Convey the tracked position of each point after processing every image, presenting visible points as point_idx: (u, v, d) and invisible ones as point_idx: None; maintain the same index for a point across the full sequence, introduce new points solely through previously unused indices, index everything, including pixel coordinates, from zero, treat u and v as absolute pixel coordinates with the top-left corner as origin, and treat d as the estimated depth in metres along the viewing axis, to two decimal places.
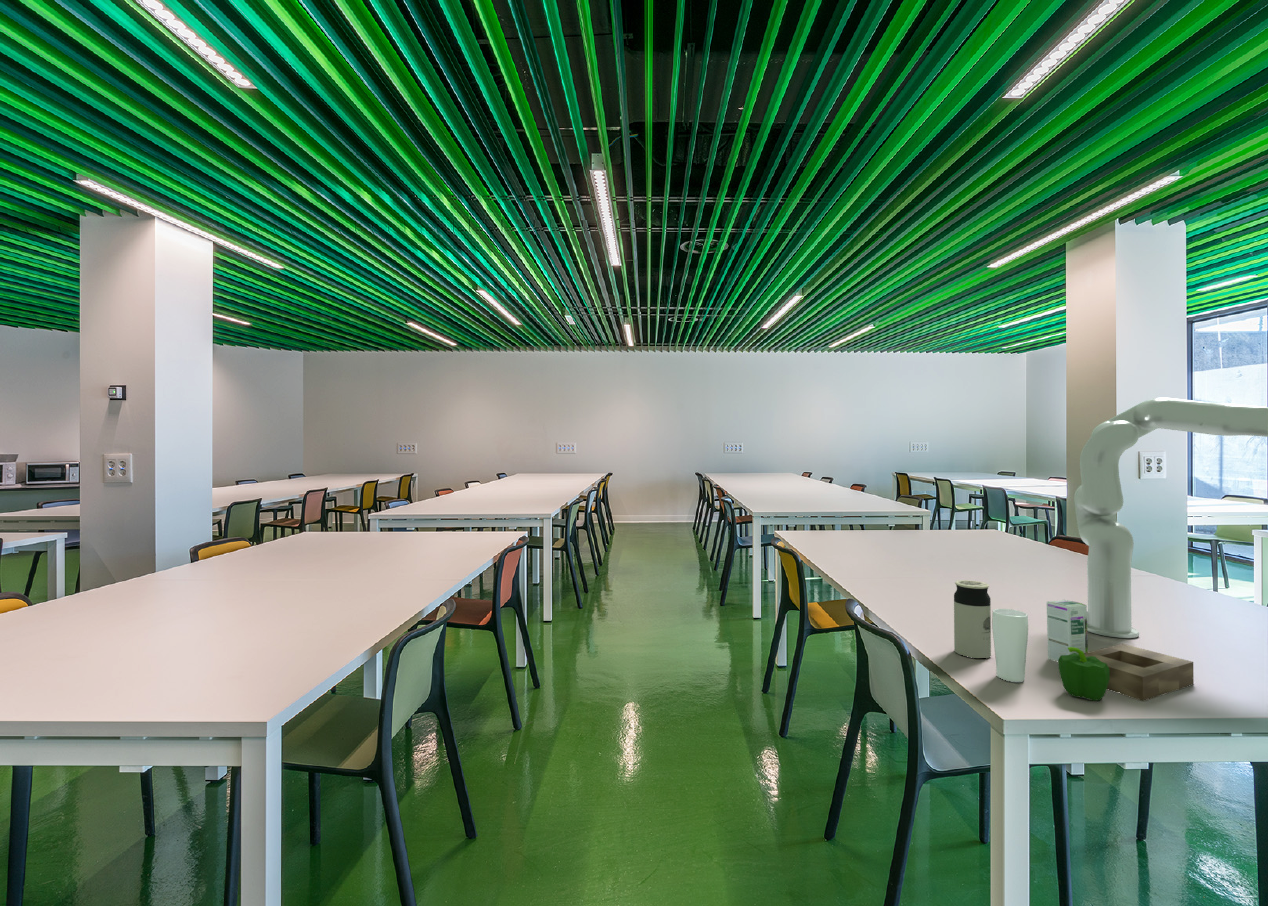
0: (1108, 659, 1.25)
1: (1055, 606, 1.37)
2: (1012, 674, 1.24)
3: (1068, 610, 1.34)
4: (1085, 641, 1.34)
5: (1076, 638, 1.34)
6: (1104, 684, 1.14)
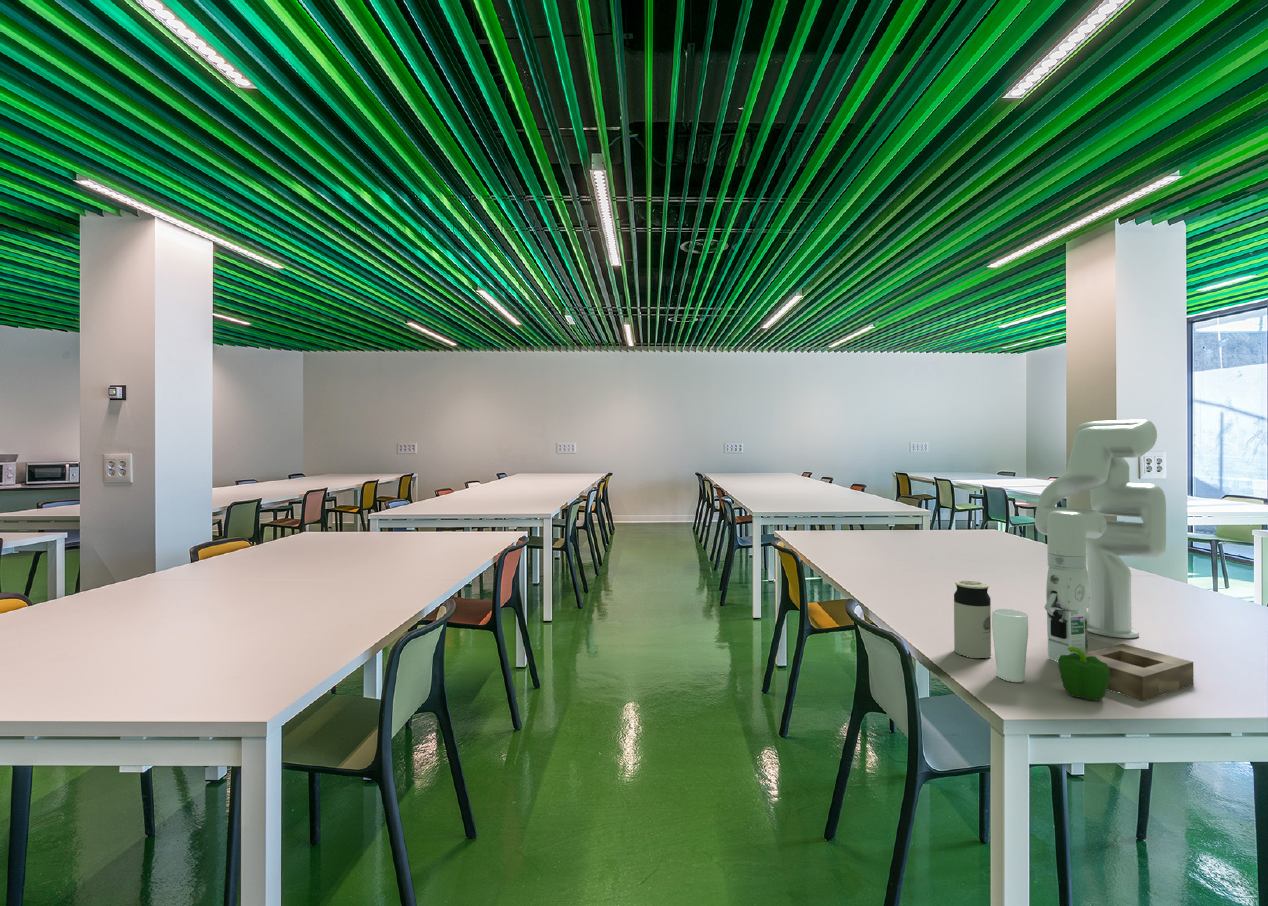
0: (1108, 659, 1.25)
1: None
2: (1012, 674, 1.24)
3: None
4: (1085, 641, 1.34)
5: (1076, 638, 1.34)
6: (1104, 684, 1.14)
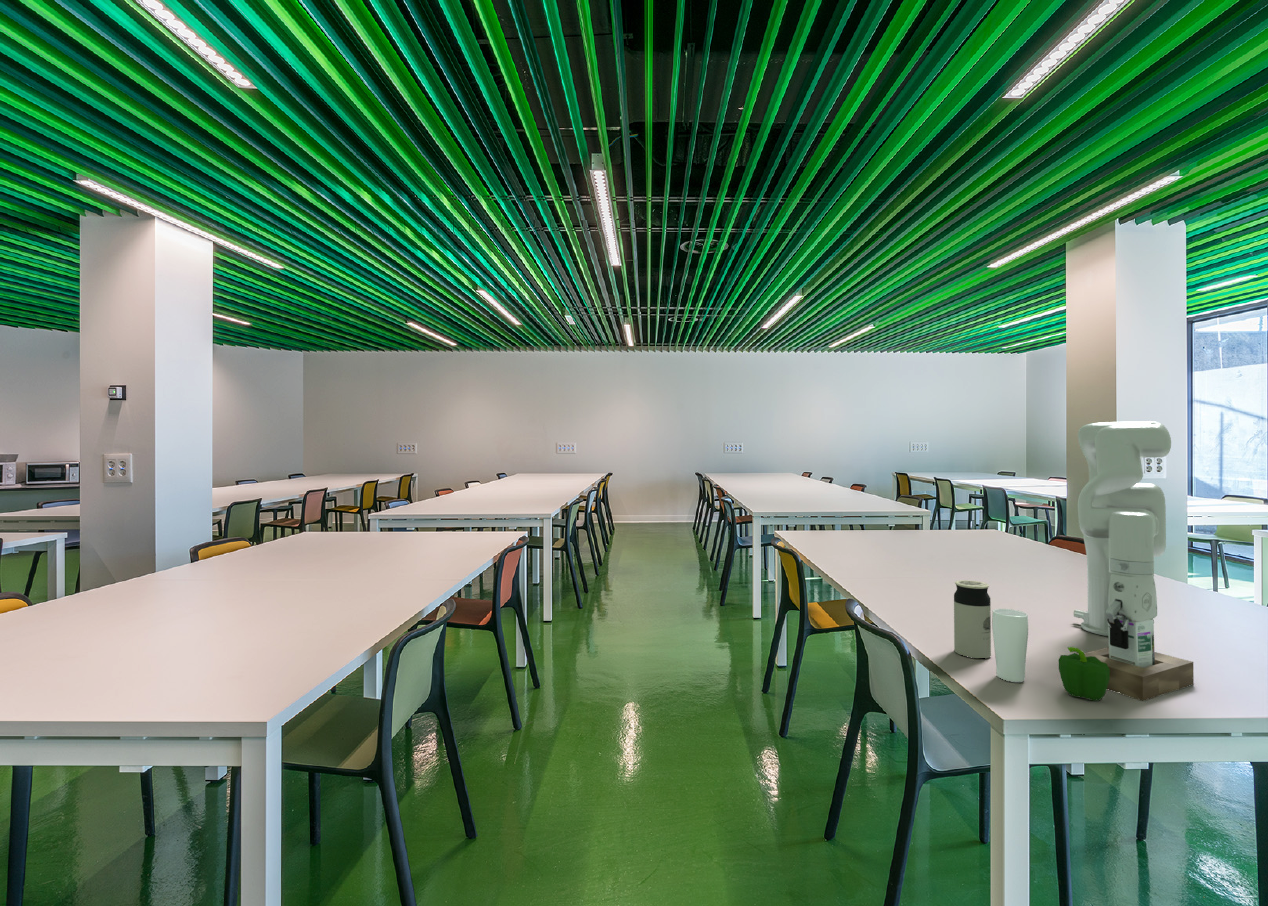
0: (1108, 659, 1.25)
1: (1119, 620, 1.25)
2: (1012, 674, 1.24)
3: (1134, 625, 1.22)
4: (1152, 659, 1.23)
5: (1144, 655, 1.22)
6: (1104, 684, 1.14)
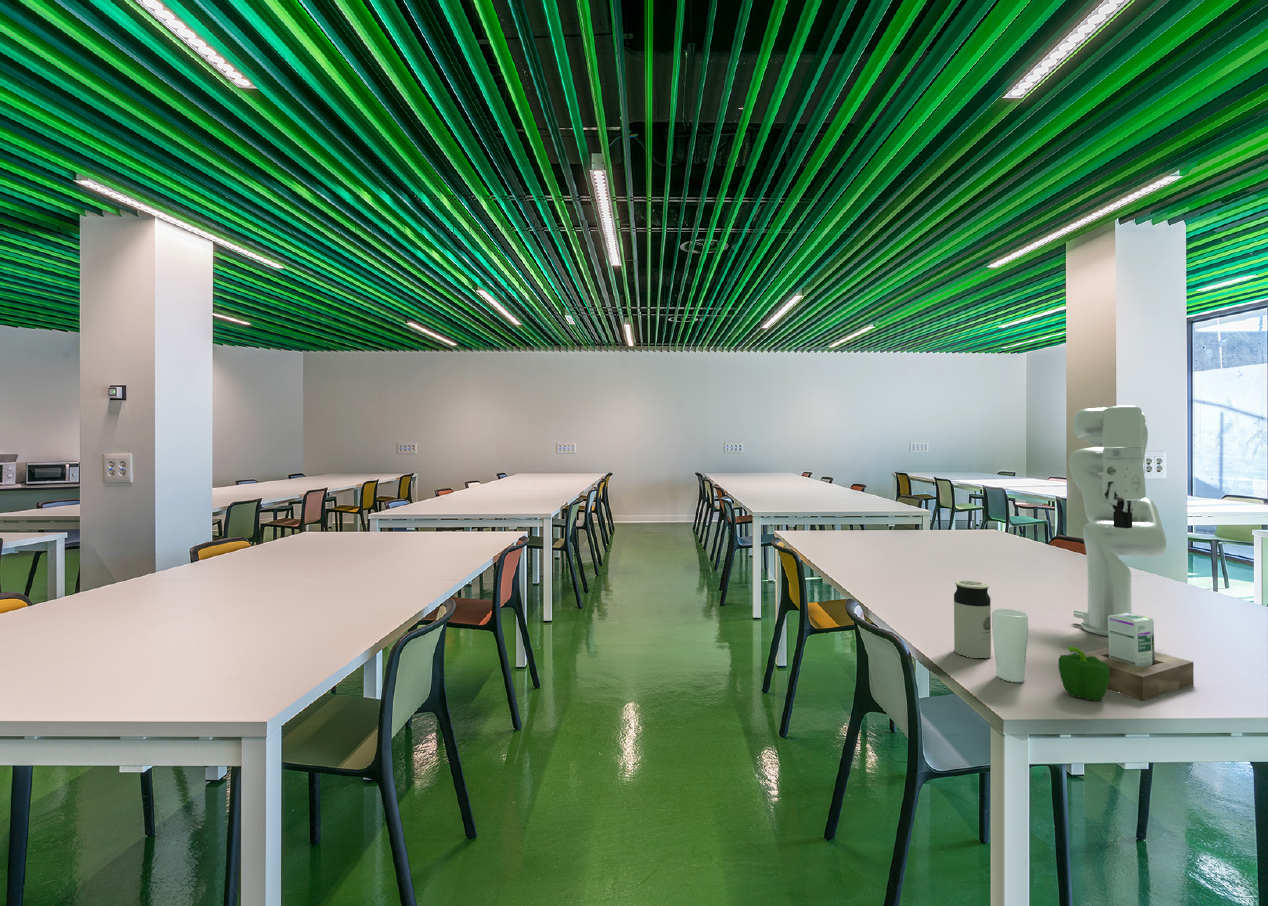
0: (1108, 659, 1.25)
1: (1119, 620, 1.25)
2: (1012, 674, 1.24)
3: (1134, 625, 1.22)
4: (1152, 659, 1.23)
5: (1144, 655, 1.22)
6: (1104, 684, 1.14)
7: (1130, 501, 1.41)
